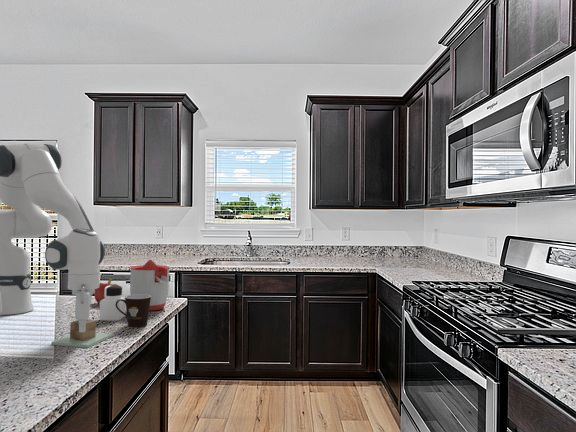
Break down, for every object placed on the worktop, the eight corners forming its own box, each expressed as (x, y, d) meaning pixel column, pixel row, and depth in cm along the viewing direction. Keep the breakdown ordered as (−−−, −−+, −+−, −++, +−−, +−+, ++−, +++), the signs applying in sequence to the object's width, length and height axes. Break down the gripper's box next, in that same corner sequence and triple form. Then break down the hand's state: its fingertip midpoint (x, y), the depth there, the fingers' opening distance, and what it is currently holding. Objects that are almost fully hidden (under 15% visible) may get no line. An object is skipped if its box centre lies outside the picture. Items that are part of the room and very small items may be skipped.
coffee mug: (155, 324, 159) (156, 296, 159) (136, 329, 152) (136, 299, 152) (133, 319, 165) (133, 292, 165) (113, 324, 158) (113, 295, 158)
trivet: (51, 344, 133) (51, 341, 133) (77, 334, 145) (77, 331, 145) (88, 347, 131) (88, 345, 131) (111, 336, 143) (111, 334, 142)
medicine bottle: (125, 316, 170) (126, 284, 170) (119, 320, 163) (119, 287, 163) (106, 316, 170) (107, 284, 170) (99, 320, 163) (99, 287, 163)
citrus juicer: (147, 315, 173) (148, 263, 172) (121, 308, 183) (122, 259, 183) (179, 309, 185) (180, 260, 185) (153, 303, 196) (154, 256, 195)
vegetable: (99, 300, 198) (100, 277, 198) (123, 300, 199) (124, 278, 199) (90, 305, 187) (90, 281, 187) (115, 306, 188) (116, 282, 188)
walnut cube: (70, 338, 136) (70, 322, 136) (83, 334, 141) (83, 318, 141) (82, 340, 134) (83, 324, 134) (95, 336, 139) (95, 320, 139)
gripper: (94, 287, 129) (93, 335, 129) (95, 277, 148) (94, 319, 148) (70, 288, 127) (69, 337, 127) (74, 278, 146) (73, 320, 146)
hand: (82, 327), depth 138 cm, fingers open, 8 cm apart
